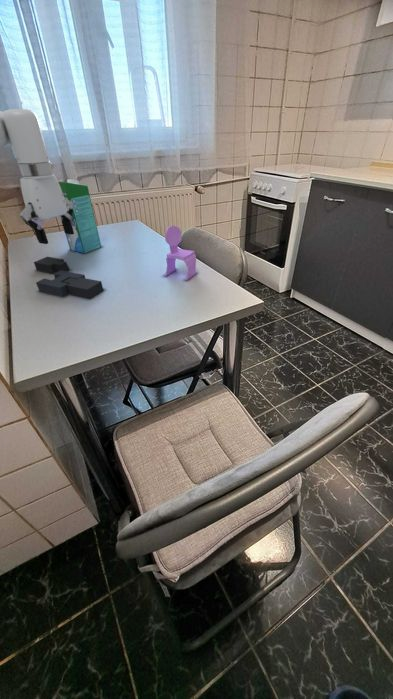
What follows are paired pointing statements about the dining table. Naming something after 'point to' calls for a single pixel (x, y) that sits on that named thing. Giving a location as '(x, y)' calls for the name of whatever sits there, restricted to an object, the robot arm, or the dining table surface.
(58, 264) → the pad
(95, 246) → the milk carton
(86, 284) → the pad
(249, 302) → the dining table surface
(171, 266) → the toy chair
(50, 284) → the pad
